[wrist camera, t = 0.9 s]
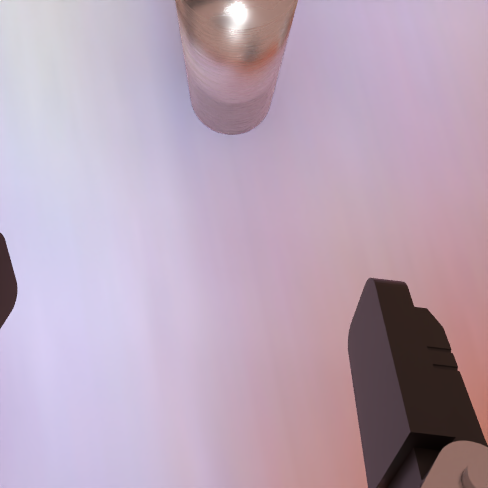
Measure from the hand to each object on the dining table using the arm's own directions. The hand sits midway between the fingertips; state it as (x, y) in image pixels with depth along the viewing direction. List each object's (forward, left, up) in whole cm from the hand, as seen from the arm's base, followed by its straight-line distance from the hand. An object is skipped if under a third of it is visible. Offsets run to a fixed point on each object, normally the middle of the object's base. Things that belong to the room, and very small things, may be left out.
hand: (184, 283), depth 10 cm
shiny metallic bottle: (-1, +11, -16) cm, 19 cm away
